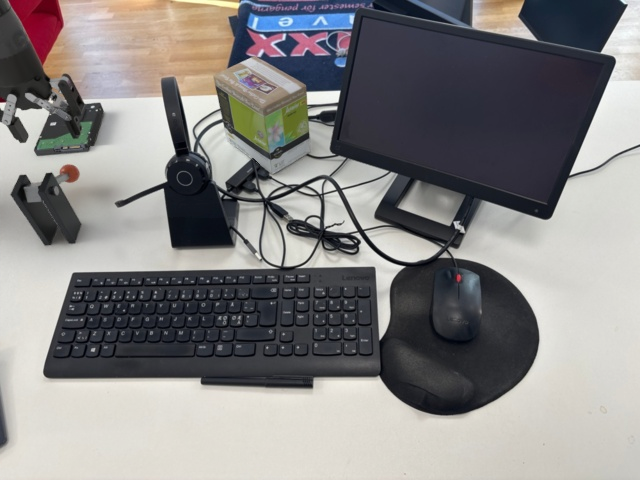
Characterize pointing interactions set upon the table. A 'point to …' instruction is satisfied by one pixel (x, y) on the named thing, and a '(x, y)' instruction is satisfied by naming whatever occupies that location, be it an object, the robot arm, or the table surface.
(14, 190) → the bracket
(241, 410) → the table surface
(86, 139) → the disk drive
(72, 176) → the lever
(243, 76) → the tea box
